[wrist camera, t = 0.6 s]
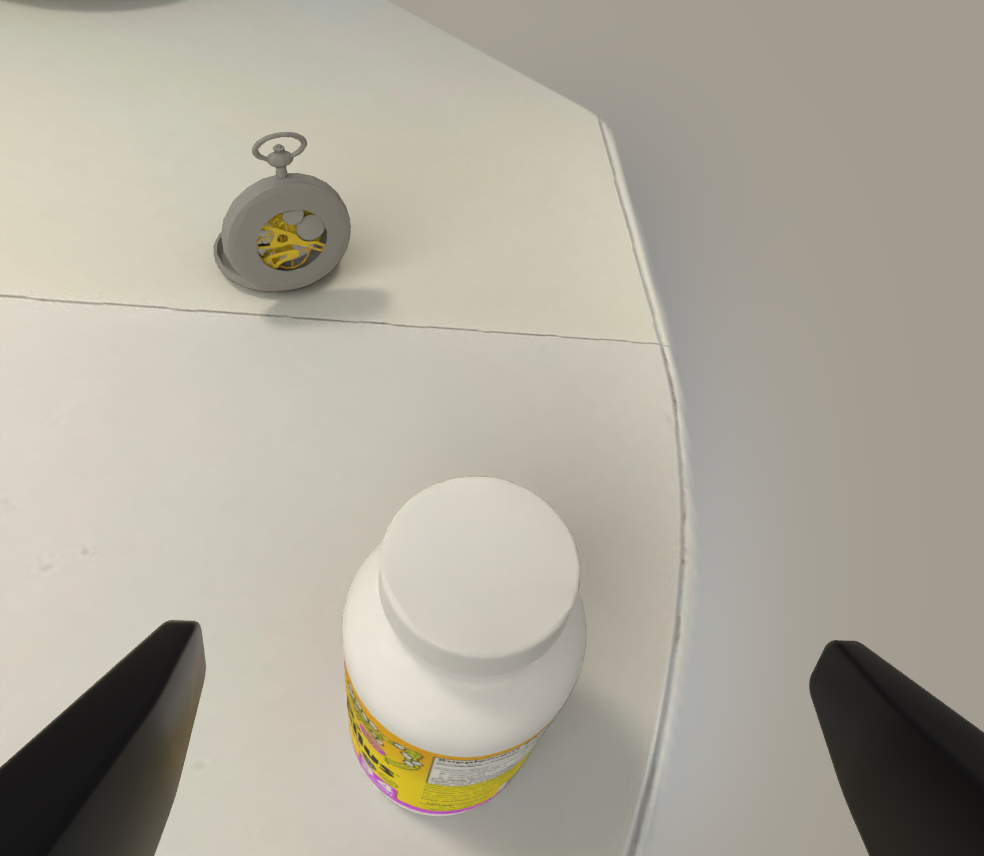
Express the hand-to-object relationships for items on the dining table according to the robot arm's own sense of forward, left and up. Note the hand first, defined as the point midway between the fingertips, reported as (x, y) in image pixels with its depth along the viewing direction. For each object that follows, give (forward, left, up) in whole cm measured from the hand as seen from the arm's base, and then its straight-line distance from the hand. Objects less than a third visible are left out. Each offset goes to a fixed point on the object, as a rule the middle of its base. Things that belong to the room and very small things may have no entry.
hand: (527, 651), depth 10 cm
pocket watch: (+29, +10, -18) cm, 35 cm away
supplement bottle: (+4, 0, -18) cm, 18 cm away
